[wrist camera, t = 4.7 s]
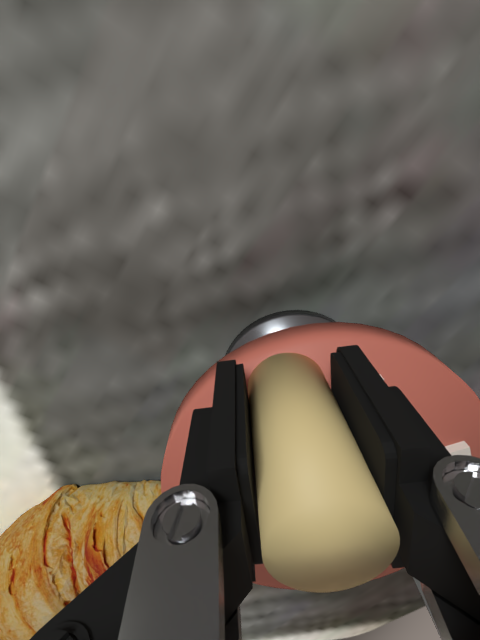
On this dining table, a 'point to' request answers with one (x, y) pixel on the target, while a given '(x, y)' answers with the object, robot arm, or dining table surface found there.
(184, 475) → the robot arm
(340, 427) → the handwheel
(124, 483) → the croissant
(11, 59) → the dining table surface
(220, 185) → the dining table surface
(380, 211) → the dining table surface
